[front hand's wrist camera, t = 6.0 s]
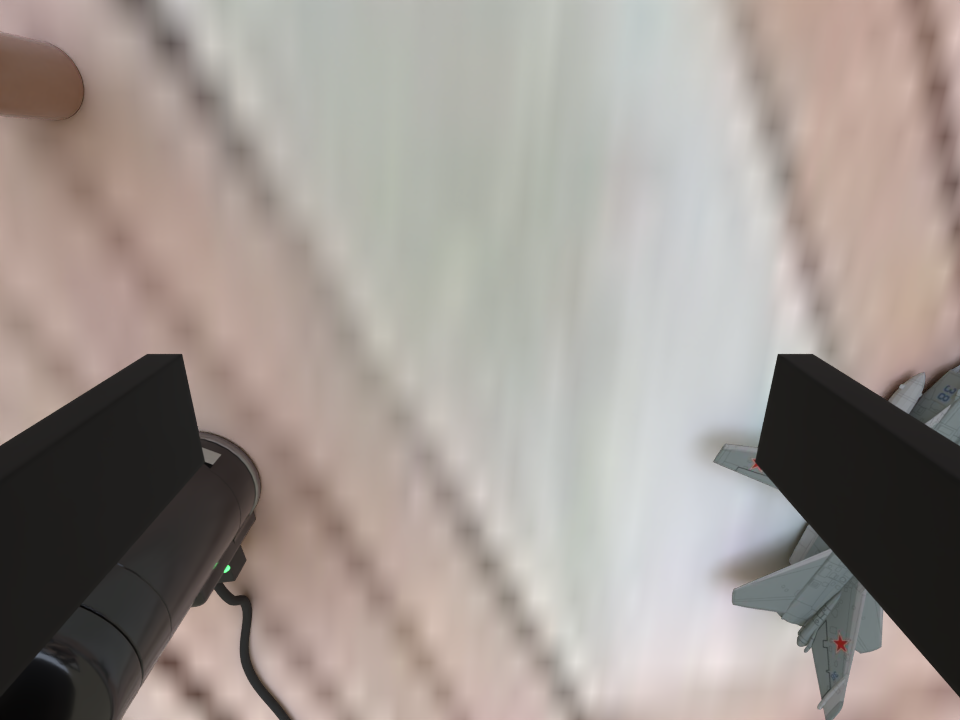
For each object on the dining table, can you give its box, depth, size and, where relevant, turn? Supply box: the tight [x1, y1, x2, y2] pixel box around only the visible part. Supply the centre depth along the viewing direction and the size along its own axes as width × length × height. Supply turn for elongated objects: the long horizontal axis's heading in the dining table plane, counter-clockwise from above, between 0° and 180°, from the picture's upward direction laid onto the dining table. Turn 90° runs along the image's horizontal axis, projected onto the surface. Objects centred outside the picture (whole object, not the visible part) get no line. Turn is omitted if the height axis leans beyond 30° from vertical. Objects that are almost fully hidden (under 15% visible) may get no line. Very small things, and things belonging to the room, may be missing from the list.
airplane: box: [714, 365, 960, 720], centre depth 40 cm, size 38×32×10 cm
